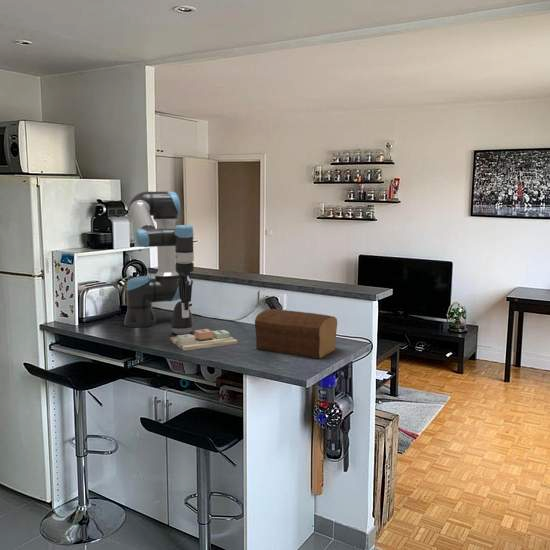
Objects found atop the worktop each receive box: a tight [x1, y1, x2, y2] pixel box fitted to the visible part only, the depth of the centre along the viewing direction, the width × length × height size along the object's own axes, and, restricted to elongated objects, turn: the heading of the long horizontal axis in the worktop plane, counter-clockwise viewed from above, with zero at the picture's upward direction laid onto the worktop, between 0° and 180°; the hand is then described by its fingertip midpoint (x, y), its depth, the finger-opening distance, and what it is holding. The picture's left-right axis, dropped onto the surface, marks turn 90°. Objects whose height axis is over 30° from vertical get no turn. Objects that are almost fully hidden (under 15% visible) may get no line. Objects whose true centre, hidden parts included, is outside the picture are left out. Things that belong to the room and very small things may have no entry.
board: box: [169, 334, 238, 351], centre depth 251 cm, size 18×24×2 cm
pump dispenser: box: [170, 300, 194, 335], centre depth 265 cm, size 10×10×15 cm
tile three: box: [211, 329, 231, 339], centre depth 254 cm, size 6×6×3 cm
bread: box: [254, 308, 338, 359], centre depth 239 cm, size 18×30×16 cm, turn 60°
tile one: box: [176, 333, 195, 344], centre depth 247 cm, size 6×6×3 cm
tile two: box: [194, 328, 213, 339], centre depth 250 cm, size 6×6×3 cm
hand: (185, 317), depth 246 cm, fingers closed
